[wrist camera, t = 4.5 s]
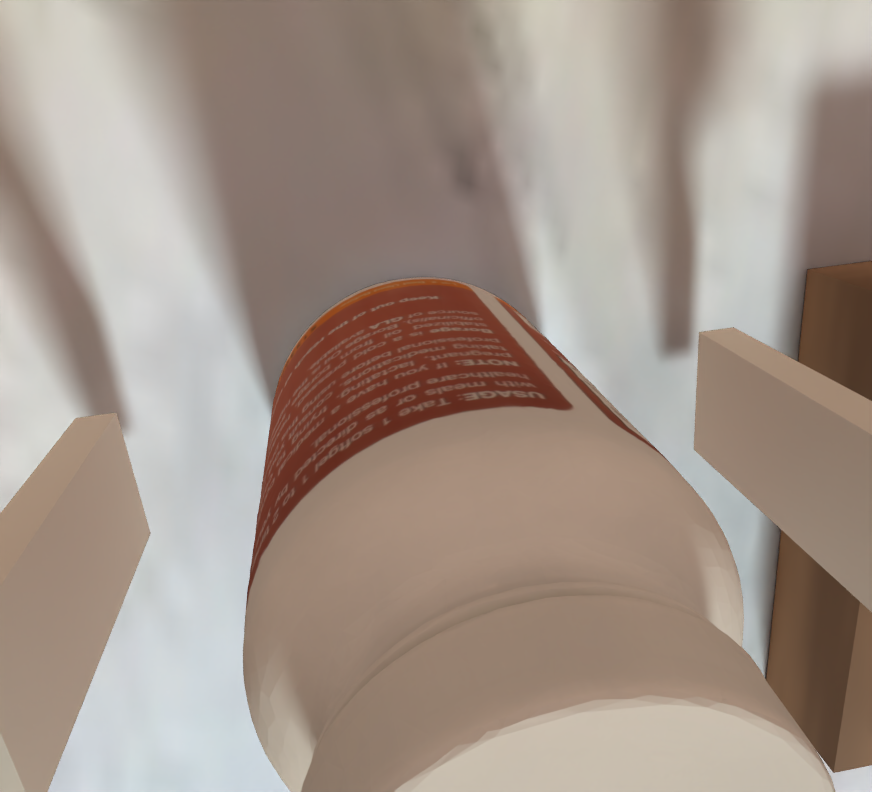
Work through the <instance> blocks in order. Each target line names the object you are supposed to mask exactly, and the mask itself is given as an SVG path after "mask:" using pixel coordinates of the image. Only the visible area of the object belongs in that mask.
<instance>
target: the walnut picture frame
mask: <svg viewBox="0 0 872 792" xmlns="http://www.w3.org/2000/svg"><path fill="white" fill-rule="evenodd" d="M798 362H799V363H801V364H803V365H805V366H807V367H809V368H811V369H813V370H814V371H816V372H818V373H820V374H822V375H824V376H826V377H828V378H829V379H831V380H833V381H835V382H837V383H839V384H841V385H843V386H844V387H846V388H848V389H850V390H852V391H854V392H856V393H858V394H859V395H861V396H863V397H865V398H867V399H869V400H871V401H872V261H868V262H860V263H852V264H845V265H837V266H830V267H822V268H814V269H807V279H806V289H805V299H804V309H803V319H802V329H801V339H800V349H799V359H798ZM766 681H767V683H768V684H769V685H770V687H771V688H772V690H773V691H774V692H775V694H776V695H777V696H778V698H779V699H780V701H781V702H782V703H783V705H784V706H785V708H786V709H787V710H788V712H789V713H790V714H791V716H792V717H793V719H794V720H795V721H796V723H797V724H798V726H799V727H800V728H801V730H802V731H803V733H804V734H805V735H806V737H807V738H808V739H809V741H810V742H811V744H812V745H813V746H814V748H815V749H816V751H817V752H818V753H819V755H820V756H821V757H822V758H823V760H824V761H825V762H826V764H827V765H828V766H829V767H830V769H831V770H832V771H833V773H835V772H840V771H845V770H850V769H855V768H860V767H865V766H869V765H872V612H871V611H870V610H869V609H867V608H866V607H865V606H864V605H863V604H862V603H861V602H860V601H859V600H858V599H857V598H855V597H854V596H853V595H852V594H851V593H850V592H849V591H848V590H847V589H846V588H845V587H843V586H842V585H841V584H840V583H839V582H838V581H837V580H836V579H835V578H834V577H833V576H831V575H830V574H829V573H828V572H827V571H826V570H825V569H824V568H823V567H822V566H820V565H819V564H818V563H817V562H816V561H815V560H814V559H813V558H812V557H811V556H810V555H808V554H807V553H806V552H805V551H804V550H803V549H802V548H801V547H800V546H799V545H798V544H796V543H795V542H794V541H793V540H792V539H791V538H790V537H789V536H788V535H787V534H786V533H784V532H783V531H782V530H781V538H780V548H779V558H778V568H777V578H776V588H775V598H774V608H773V618H772V628H771V638H770V648H769V657H768V667H767V677H766Z"/></svg>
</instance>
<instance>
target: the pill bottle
mask: <svg viewBox="0 0 872 792" xmlns="http://www.w3.org/2000/svg"><path fill="white" fill-rule="evenodd" d="M743 622H744V615H743V597H742V591H741V584H740V578H739V574H738V571H737V567H736V564H735V561H734V558H733V555H732V552H731V550H730V547H729V544H728V542H727V540H726V537H725V535H724V533H723V531H722V529H721V528H720V526H719V524H718V522H717V521H716V519H715V517H714V515H713V514H712V512H711V511H710V509H709V508H708V507H707V505H706V504H705V502H704V501H703V500H702V499H701V497H700V496H699V495H698V494H697V493H696V491H695V490H694V489H693V488H692V487H691V486H690V484H689V483H688V482H687V481H686V480H685V479H684V478H683V477H682V476H681V474H680V473H679V472H678V471H677V470H676V469H675V468H674V467H673V466H672V464H671V463H670V462H669V461H668V460H667V459H666V458H665V457H664V456H663V455H662V454H661V453H660V452H659V451H658V450H657V449H656V448H655V447H654V446H653V445H652V444H651V443H650V442H649V441H648V440H647V439H646V438H645V437H644V436H643V435H642V434H641V433H640V432H639V431H638V430H637V429H636V428H635V427H634V426H633V425H632V424H631V423H630V422H629V421H628V420H627V419H626V418H625V417H624V416H623V415H622V414H621V413H620V412H619V411H618V410H617V409H616V408H615V407H614V406H613V405H612V404H611V403H610V402H609V401H608V400H607V399H606V398H605V397H604V396H603V395H602V394H601V393H600V392H599V391H598V390H597V389H596V387H595V386H594V385H593V384H592V383H591V382H589V381H588V380H587V379H586V378H585V377H584V376H583V375H582V374H581V373H580V372H579V371H578V369H577V368H576V367H575V366H574V365H573V364H572V363H570V362H569V361H568V360H567V359H566V358H565V356H564V355H563V354H562V353H561V352H560V351H558V350H557V349H556V348H555V347H554V346H553V345H552V344H551V343H550V342H549V340H548V339H547V338H546V337H545V336H543V335H542V334H541V333H540V332H539V331H538V330H537V329H536V328H535V327H534V326H533V325H532V324H531V323H530V322H529V321H528V320H527V319H526V318H525V317H524V316H523V315H521V314H520V313H519V312H518V311H517V310H516V309H514V308H513V307H512V306H510V305H509V304H507V303H506V302H505V301H503V300H502V299H500V298H498V297H497V296H495V295H493V294H491V293H489V292H487V291H485V290H483V289H481V288H479V287H476V286H473V285H470V284H468V283H464V282H460V281H456V280H451V279H446V278H434V277H416V278H405V279H397V280H391V281H387V282H383V283H379V284H375V285H372V286H370V287H367V288H364V289H362V290H360V291H358V292H355V293H353V294H351V295H349V296H348V297H346V298H344V299H342V300H341V301H339V302H338V303H336V304H335V305H333V306H332V307H331V308H329V309H328V310H326V311H325V312H324V313H323V314H322V315H321V316H320V317H319V318H317V319H316V320H315V321H314V322H313V323H312V324H311V325H310V326H309V328H308V329H307V330H306V331H305V332H304V333H303V335H302V336H301V337H300V339H299V340H298V341H297V343H296V345H295V346H294V348H293V349H292V351H291V353H290V355H289V356H288V358H287V360H286V362H285V365H284V367H283V370H282V372H281V375H280V378H279V382H278V385H277V389H276V393H275V397H274V402H273V408H272V416H271V424H270V430H269V438H268V445H267V453H266V460H265V468H264V475H263V482H262V491H261V499H260V505H259V512H258V515H257V525H256V535H255V542H254V548H253V556H252V564H251V570H250V580H249V585H248V592H247V604H246V615H245V628H244V632H245V633H244V644H243V675H244V684H245V690H246V695H247V701H248V705H249V710H250V714H251V718H252V721H253V724H254V727H255V730H256V733H257V735H258V738H259V740H260V742H261V745H262V747H263V749H264V751H265V754H266V755H267V757H268V759H269V760H270V762H271V764H272V765H273V767H274V768H275V770H276V771H277V773H278V775H279V776H280V778H281V779H282V781H283V782H284V783H285V785H286V786H287V787H288V788H289V790H290V791H291V792H835V789H834V785H833V782H832V779H831V777H830V775H829V773H828V771H827V769H826V767H825V765H824V763H823V761H822V759H821V758H820V756H819V755H818V753H817V751H816V750H815V748H814V746H813V745H812V744H811V742H810V741H809V739H808V738H807V737H806V735H805V734H804V733H803V731H802V730H801V728H800V727H799V726H798V724H797V723H796V721H795V720H794V719H793V717H792V716H791V714H790V713H789V712H788V710H787V709H786V708H785V706H784V705H783V703H782V702H781V701H780V699H779V698H778V696H777V695H776V694H775V692H774V691H773V690H772V688H771V687H770V685H769V684H768V683H767V681H766V679H765V678H764V676H763V674H762V672H761V671H760V669H759V668H758V666H757V665H756V664H755V662H754V661H753V659H752V658H751V656H750V655H749V654H748V653H747V652H746V651H745V650H744V649H743V648H742V641H743Z"/></svg>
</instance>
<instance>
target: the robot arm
mask: <svg viewBox="0 0 872 792" xmlns="http://www.w3.org/2000/svg"><path fill="white" fill-rule="evenodd" d="M694 450H695V451H696V452H697V453H698V454H699V455H700V456H702V457H703V458H704V459H705V460H706V461H707V462H708V463H709V464H710V465H711V466H712V467H714V468H715V469H716V470H717V471H718V472H719V473H720V474H721V475H722V476H723V477H724V478H726V479H727V480H728V481H729V482H730V483H731V484H732V485H733V486H734V487H735V488H736V489H738V490H739V491H740V492H741V493H742V494H743V495H744V496H745V497H746V498H747V499H748V500H750V501H751V502H752V503H753V504H754V505H755V506H756V507H757V508H758V509H759V510H760V511H762V512H763V513H764V514H765V515H766V516H767V517H768V518H769V519H770V520H771V521H772V522H774V523H775V524H776V525H777V526H778V527H779V528H780V529H781V530H782V531H783V532H784V533H786V534H787V535H788V536H789V537H790V538H791V539H792V540H793V541H794V542H795V543H796V544H798V545H799V546H800V547H801V548H802V549H803V550H804V551H805V552H806V553H807V554H808V555H810V556H811V557H812V558H813V559H814V560H815V561H816V562H817V563H818V564H819V565H820V566H822V567H823V568H824V569H825V570H826V571H827V572H828V573H829V574H830V575H831V576H833V577H834V578H835V579H836V580H837V581H838V582H839V583H840V584H841V585H842V586H843V587H845V588H846V589H847V590H848V591H849V592H850V593H851V594H852V595H853V596H854V597H855V598H857V599H858V600H859V601H860V602H861V603H862V604H863V605H864V606H865V607H866V608H867V609H869V610H870V611H871V612H872V401H871V400H869V399H867V398H865V397H863V396H861V395H859V394H858V393H856V392H854V391H852V390H850V389H848V388H846V387H844V386H843V385H841V384H839V383H837V382H835V381H833V380H831V379H829V378H828V377H826V376H824V375H822V374H820V373H818V372H816V371H814V370H813V369H811V368H809V367H807V366H805V365H803V364H801V363H799V362H797V361H796V360H794V359H792V358H790V357H788V356H786V355H784V354H782V353H781V352H779V351H777V350H775V349H773V348H771V347H769V346H767V345H766V344H764V343H762V342H760V341H758V340H756V339H754V338H752V337H751V336H749V335H747V334H745V333H743V332H741V331H739V330H737V329H736V328H734V327H733V328H725V329H718V330H711V331H704V332H699V344H698V366H697V388H696V410H695V432H694ZM149 536H150V530H149V526H148V523H147V519H146V516H145V512H144V509H143V505H142V501H141V498H140V494H139V491H138V487H137V484H136V480H135V477H134V473H133V469H132V466H131V462H130V459H129V455H128V452H127V448H126V445H125V441H124V437H123V434H122V430H121V427H120V423H119V420H118V416H117V413H109V414H102V415H95V416H88V417H80V418H75V420H74V421H73V422H72V423H71V425H70V426H69V427H68V428H67V430H66V431H65V432H64V434H63V435H62V436H61V437H60V439H59V440H58V441H57V442H56V444H55V445H54V446H53V447H52V449H51V450H50V451H49V453H48V454H47V455H46V456H45V458H44V459H43V460H42V461H41V463H40V464H39V465H38V467H37V468H36V469H35V470H34V472H33V473H32V474H31V475H30V477H29V478H28V479H27V480H26V482H25V483H24V484H23V486H22V487H21V488H20V489H19V491H18V492H17V493H16V494H15V496H14V497H13V498H12V499H11V501H10V502H9V503H8V505H7V506H6V507H5V508H4V510H3V511H2V512H1V513H0V792H47V791H48V789H49V786H50V784H51V781H52V779H53V776H54V774H55V771H56V769H57V766H58V764H59V761H60V759H61V756H62V754H63V751H64V749H65V746H66V744H67V741H68V739H69V736H70V734H71V731H72V729H73V726H74V724H75V721H76V719H77V716H78V714H79V711H80V709H81V706H82V704H83V701H84V699H85V696H86V694H87V691H88V689H89V686H90V684H91V681H92V679H93V676H94V674H95V671H96V669H97V666H98V664H99V661H100V659H101V656H102V654H103V651H104V649H105V646H106V644H107V641H108V639H109V636H110V634H111V631H112V629H113V626H114V624H115V621H116V619H117V616H118V614H119V611H120V609H121V606H122V604H123V601H124V599H125V596H126V594H127V591H128V589H129V586H130V584H131V581H132V579H133V576H134V574H135V571H136V569H137V566H138V563H139V561H140V558H141V556H142V553H143V551H144V548H145V546H146V543H147V541H148V538H149Z"/></svg>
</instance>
